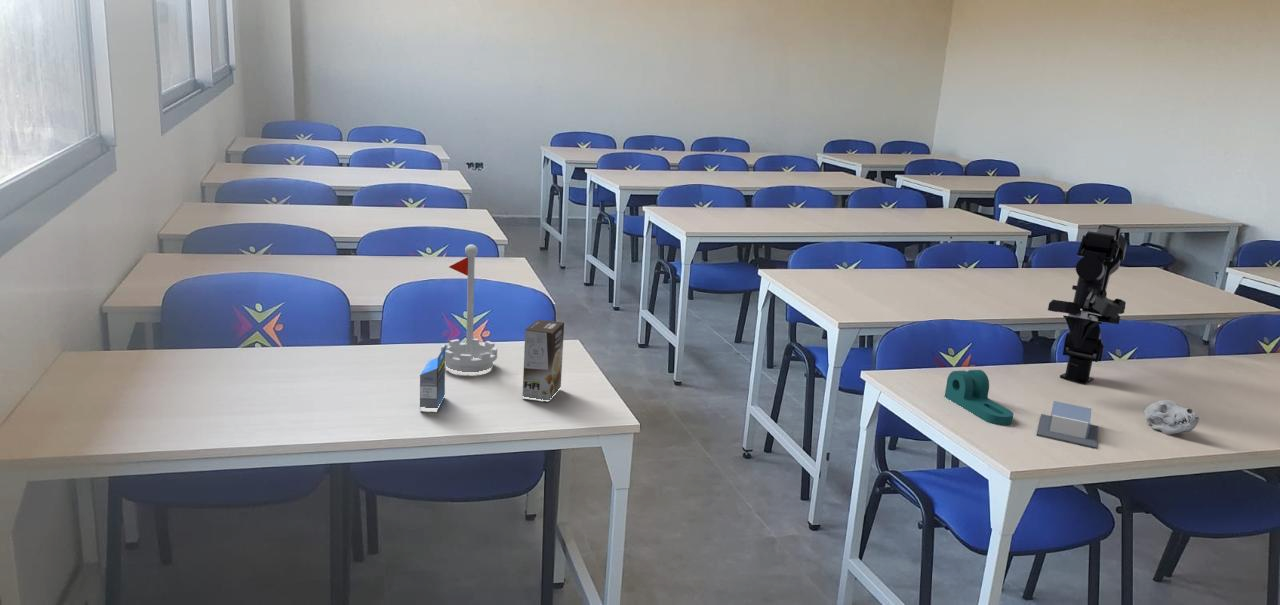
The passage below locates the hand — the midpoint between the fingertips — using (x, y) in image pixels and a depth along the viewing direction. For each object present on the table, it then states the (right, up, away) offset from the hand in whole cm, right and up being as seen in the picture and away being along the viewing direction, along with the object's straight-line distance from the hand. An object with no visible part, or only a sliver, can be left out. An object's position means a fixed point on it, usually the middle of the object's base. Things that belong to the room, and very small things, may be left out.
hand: (1076, 347), depth 226 cm
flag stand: (-147, -5, -5) cm, 147 cm away
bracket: (-27, -15, -9) cm, 32 cm away
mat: (-11, -18, -18) cm, 28 cm away
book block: (-7, -14, -12) cm, 20 cm away
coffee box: (-128, -10, -18) cm, 130 cm away
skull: (+14, -19, -13) cm, 27 cm away
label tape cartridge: (-150, -11, -28) cm, 153 cm away
